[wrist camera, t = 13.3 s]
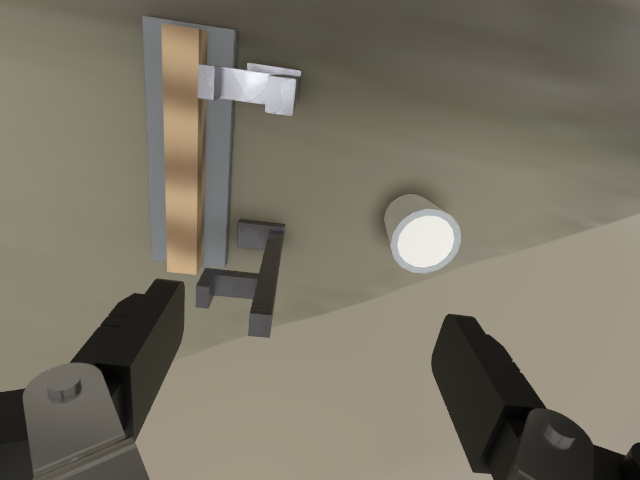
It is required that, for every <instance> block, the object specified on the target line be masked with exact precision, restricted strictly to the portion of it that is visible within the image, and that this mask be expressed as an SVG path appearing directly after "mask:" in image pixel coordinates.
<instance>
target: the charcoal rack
mask: <svg viewBox="0 0 640 480" xmlns="http://www.w3.org/2000/svg"><path fill="white" fill-rule="evenodd" d="M300 77H301V71H300V70H293V69H287V68H280V67H273V66H266V65H259V64H253V63H247V70H241V69H234V68H227V67H220V66H213V65H203V64H198V98H202V99H209V100H216V99H219V98H222V99H229V100H236V101H244V102H251V103H258V104H265V105H266V106H265V112H266V113H274V114H281V115H288V116H293V113H294V110H295V106H296V104H298V95H299V86H300ZM284 227H285V224H277V223H268V222H259V221H251V220H242V219H240V221H239V224H238V242H237V247H239V248H248V249H258V250H265V251H264V255H263V260H262V264H261V268H260V272H259V274H258V273H248V272H239V271H229V270H219V269H209V268H205V270H204V272H203V274H202V275H201V277H200V279H199V281H198V283H197V285H196V307H198V308H209V306H210V304H211V301H212V299H213V296H214V295H215V296H226V297H236V298H246V299H253V302H252V306H251V311H250V318H249V331H248V336H256V337H268V338H270V332H271V325H272V317H273V310H274V303H275V296H276V289H277V281H278V274H279V267H280V260H281V253H282V246H283V236H284Z"/></svg>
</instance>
